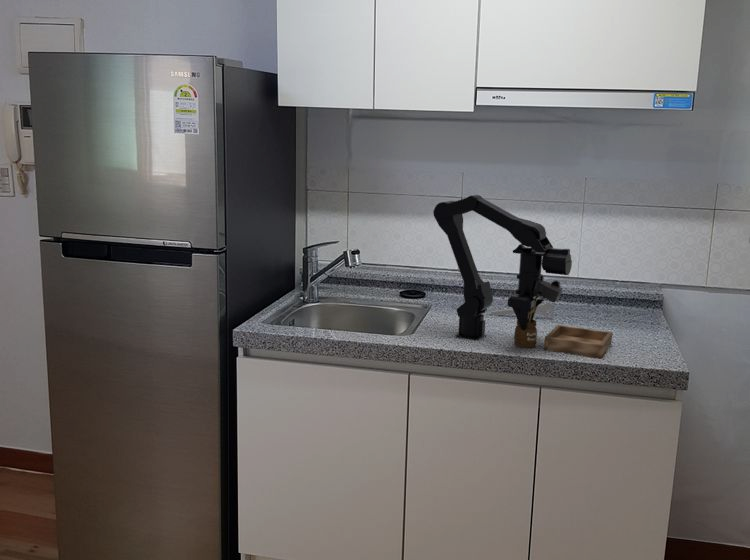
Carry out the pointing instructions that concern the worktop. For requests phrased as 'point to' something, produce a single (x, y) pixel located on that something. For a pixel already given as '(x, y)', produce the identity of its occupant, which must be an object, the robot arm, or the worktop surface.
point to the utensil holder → (526, 334)
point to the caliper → (539, 309)
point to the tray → (578, 341)
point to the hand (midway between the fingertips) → (526, 327)
